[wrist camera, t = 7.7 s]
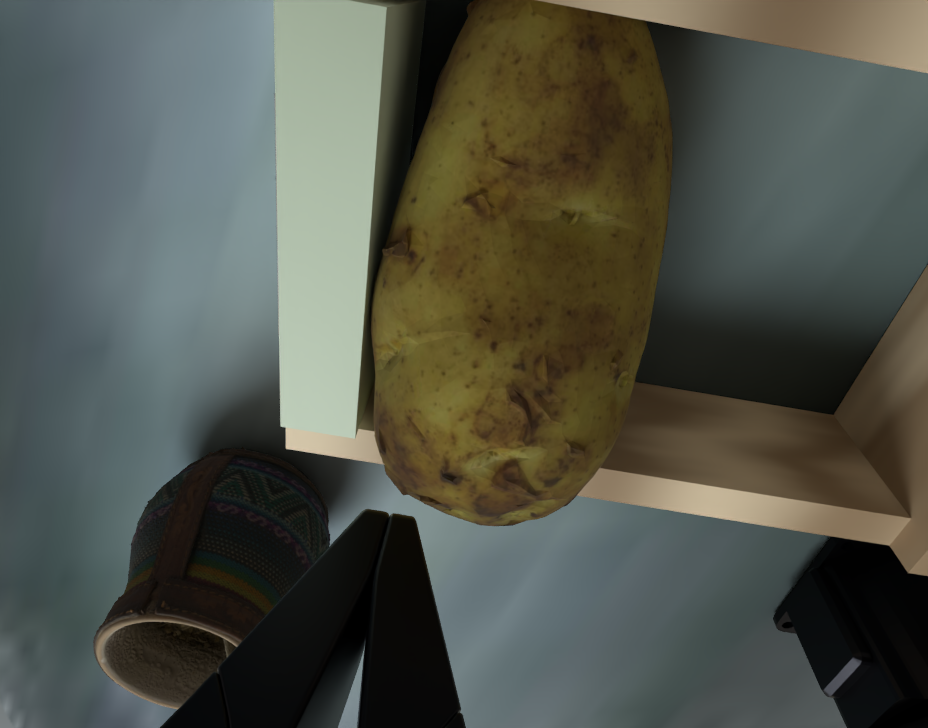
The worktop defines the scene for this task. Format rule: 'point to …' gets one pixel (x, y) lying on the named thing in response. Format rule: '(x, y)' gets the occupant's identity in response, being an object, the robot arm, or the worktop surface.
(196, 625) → the mate gourd
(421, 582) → the robot arm
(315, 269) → the pale green block
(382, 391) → the potato
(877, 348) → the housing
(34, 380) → the worktop surface
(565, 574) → the worktop surface
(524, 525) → the worktop surface
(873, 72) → the worktop surface
